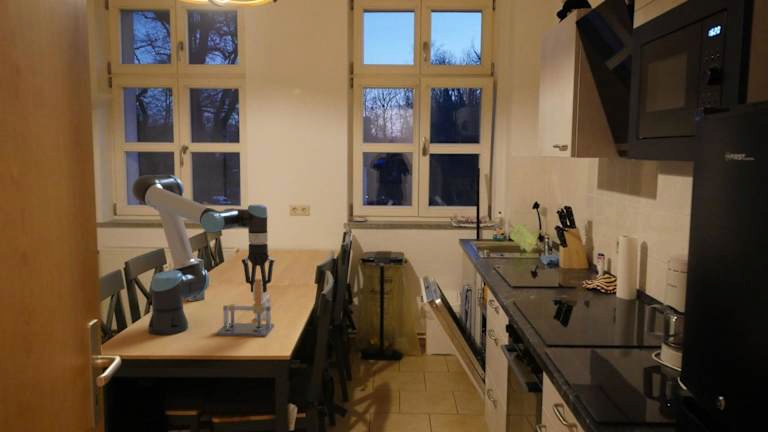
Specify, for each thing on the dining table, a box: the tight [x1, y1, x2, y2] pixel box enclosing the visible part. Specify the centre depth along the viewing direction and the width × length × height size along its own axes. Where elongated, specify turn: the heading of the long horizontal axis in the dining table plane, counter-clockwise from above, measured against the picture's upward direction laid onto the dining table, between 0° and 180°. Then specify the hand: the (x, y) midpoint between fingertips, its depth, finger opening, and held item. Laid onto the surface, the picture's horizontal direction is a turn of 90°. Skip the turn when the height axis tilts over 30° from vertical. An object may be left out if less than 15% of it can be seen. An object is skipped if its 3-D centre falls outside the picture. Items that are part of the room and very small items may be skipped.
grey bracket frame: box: [223, 303, 272, 328], centre depth 224 cm, size 19×2×9 cm, turn 88°
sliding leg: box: [252, 278, 265, 326], centre depth 223 cm, size 4×4×20 cm
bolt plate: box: [215, 322, 275, 338], centre depth 222 cm, size 20×13×1 cm, turn 88°
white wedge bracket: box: [254, 294, 272, 321], centre depth 241 cm, size 4×10×9 cm
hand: (258, 299), depth 223 cm, fingers closed on sliding leg, 2 cm apart
